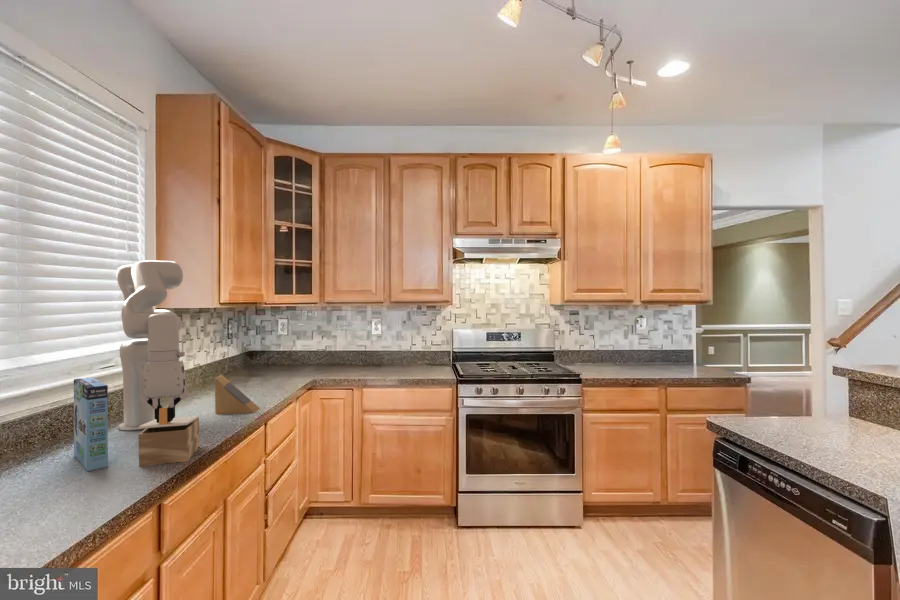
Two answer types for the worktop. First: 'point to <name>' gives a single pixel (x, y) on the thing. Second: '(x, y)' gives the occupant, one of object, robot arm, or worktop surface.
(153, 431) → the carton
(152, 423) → the lid
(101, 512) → the worktop surface
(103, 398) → the gum box
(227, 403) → the sandwich container
